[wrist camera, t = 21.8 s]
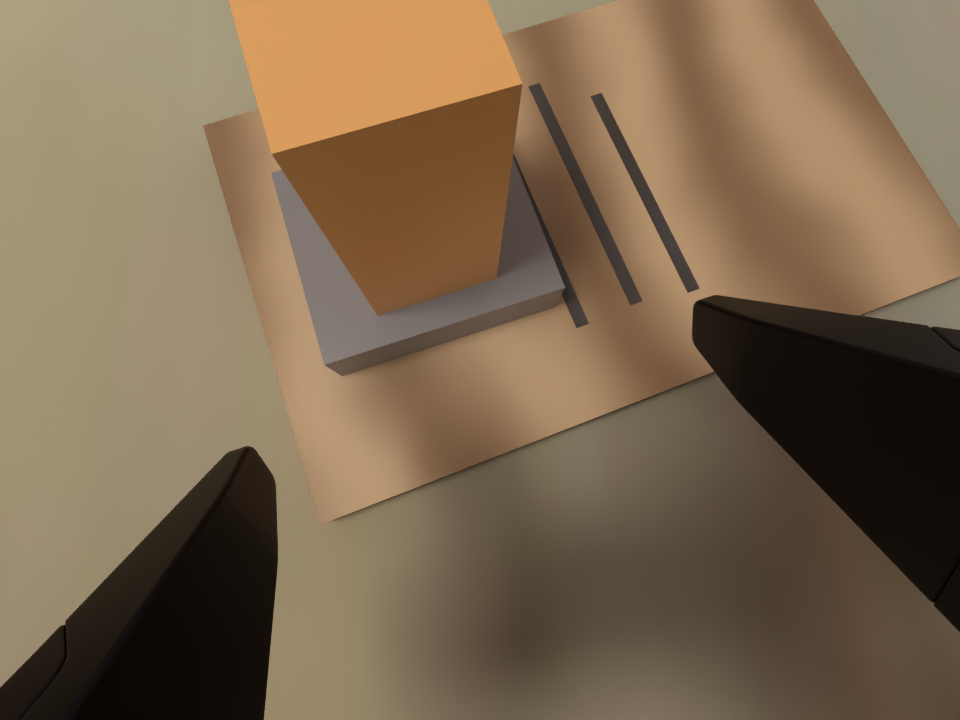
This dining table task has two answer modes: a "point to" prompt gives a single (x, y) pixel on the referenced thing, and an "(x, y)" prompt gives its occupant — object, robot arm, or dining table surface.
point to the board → (616, 233)
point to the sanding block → (397, 170)
